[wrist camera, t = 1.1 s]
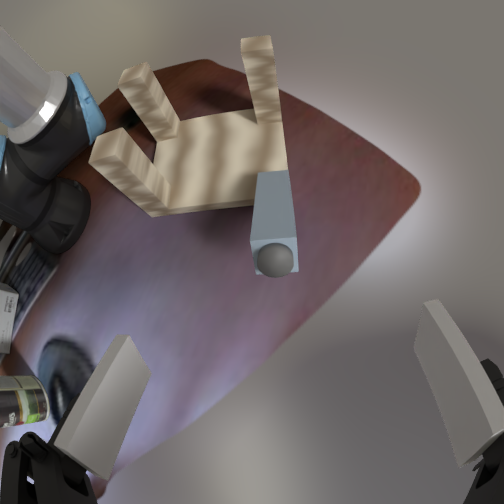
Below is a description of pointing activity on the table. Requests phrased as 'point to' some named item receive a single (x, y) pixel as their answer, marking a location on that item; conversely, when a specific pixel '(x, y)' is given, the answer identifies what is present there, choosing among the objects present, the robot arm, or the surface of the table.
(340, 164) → the table surface
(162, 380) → the table surface
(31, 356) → the table surface
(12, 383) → the coffee can
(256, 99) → the upturned stool
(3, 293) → the hard drive box
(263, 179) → the pale blue upright post
